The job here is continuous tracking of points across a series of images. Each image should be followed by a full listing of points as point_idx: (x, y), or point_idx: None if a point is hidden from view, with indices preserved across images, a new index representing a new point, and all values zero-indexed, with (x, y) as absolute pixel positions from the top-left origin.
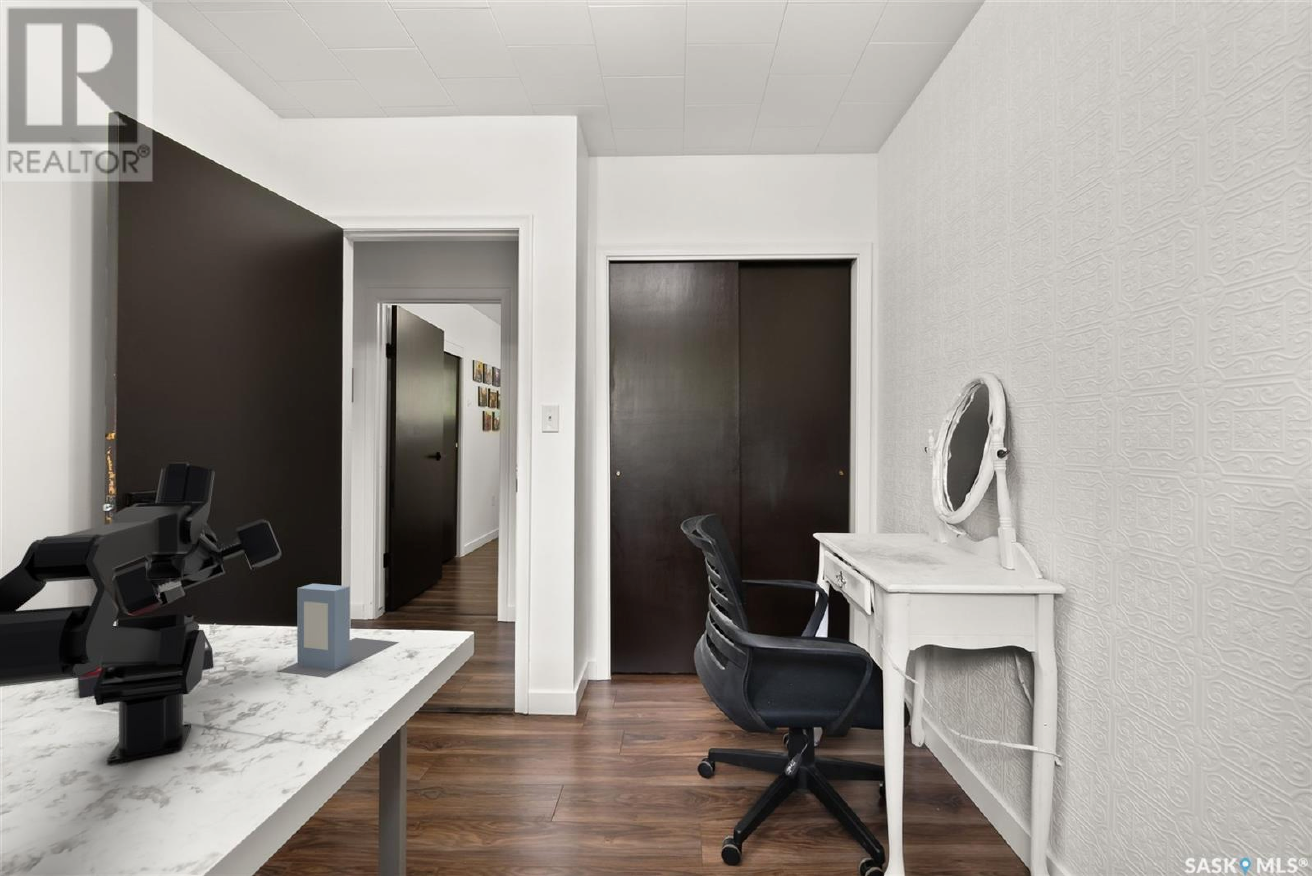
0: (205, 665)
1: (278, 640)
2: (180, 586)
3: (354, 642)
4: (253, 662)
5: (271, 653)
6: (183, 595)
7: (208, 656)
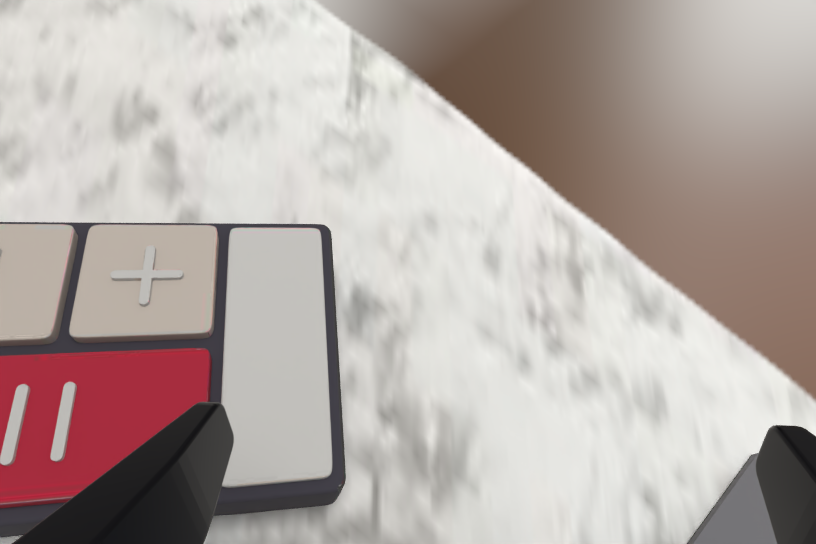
0: (314, 502)
1: (524, 291)
2: (192, 447)
3: (766, 513)
4: (461, 494)
5: (512, 422)
6: (215, 502)
7: (328, 497)
